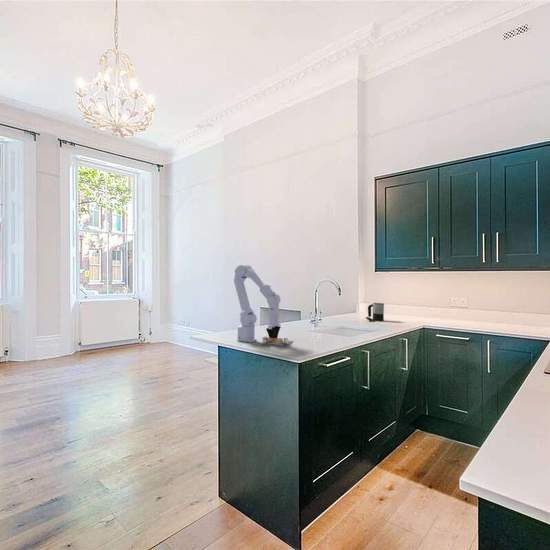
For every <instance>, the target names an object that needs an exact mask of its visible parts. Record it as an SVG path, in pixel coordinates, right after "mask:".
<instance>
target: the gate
mask: <svg viewBox="0 0 550 550" xmlns="http://www.w3.org/2000/svg"><path fill="white" fill-rule="evenodd" d="M283 341H284V338H281V337H280V338H279V337H277V338H269V337H267V343H272V344H283Z"/></svg>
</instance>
